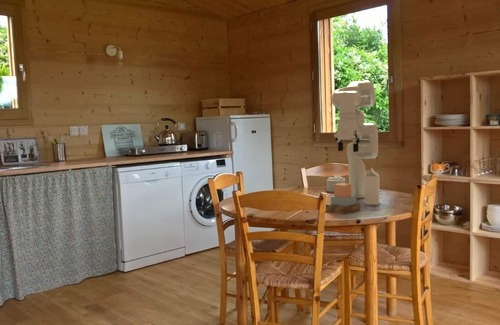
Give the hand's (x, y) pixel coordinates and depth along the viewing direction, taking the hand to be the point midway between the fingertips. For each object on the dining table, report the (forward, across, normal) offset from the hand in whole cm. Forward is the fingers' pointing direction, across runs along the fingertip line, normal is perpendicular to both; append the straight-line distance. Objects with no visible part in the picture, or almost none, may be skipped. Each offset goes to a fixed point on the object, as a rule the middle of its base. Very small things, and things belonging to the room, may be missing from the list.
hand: (348, 151), depth 239 cm
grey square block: (+26, 0, -4) cm, 26 cm away
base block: (+30, -1, -4) cm, 30 cm away
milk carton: (+30, -1, +20) cm, 36 cm away
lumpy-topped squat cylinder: (+31, -46, +41) cm, 69 cm away
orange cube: (+22, 0, -4) cm, 22 cm away
